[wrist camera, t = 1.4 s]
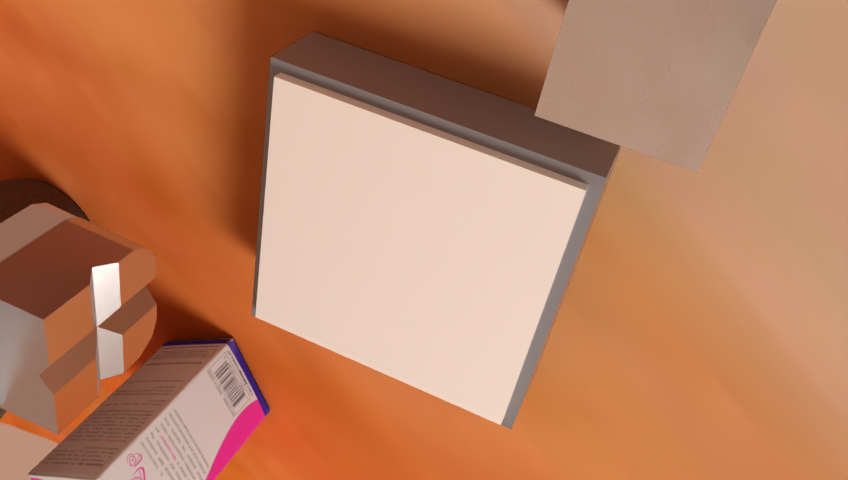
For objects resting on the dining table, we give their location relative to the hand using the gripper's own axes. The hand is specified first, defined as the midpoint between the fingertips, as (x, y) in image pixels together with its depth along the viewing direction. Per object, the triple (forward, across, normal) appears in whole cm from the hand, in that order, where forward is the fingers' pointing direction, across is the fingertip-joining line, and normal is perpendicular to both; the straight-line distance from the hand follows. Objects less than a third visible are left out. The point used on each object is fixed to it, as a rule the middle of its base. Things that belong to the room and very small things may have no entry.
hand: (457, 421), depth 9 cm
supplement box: (+24, +18, +31) cm, 43 cm away
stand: (+24, +7, +14) cm, 28 cm away
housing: (+24, 0, 0) cm, 24 cm away
